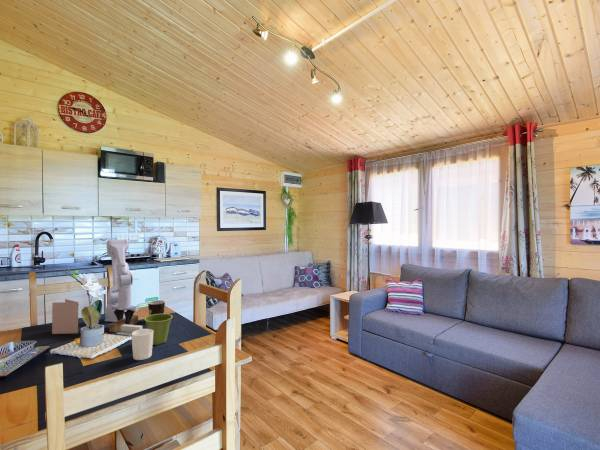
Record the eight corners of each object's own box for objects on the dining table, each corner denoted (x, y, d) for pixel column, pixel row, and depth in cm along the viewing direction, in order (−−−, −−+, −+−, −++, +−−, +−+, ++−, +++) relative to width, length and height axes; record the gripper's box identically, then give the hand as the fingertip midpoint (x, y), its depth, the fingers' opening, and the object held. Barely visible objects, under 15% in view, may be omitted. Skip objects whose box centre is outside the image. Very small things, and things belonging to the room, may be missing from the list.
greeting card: (79, 332, 155) (80, 301, 155) (62, 337, 148) (63, 305, 148) (66, 328, 160) (67, 298, 160) (49, 333, 154) (50, 301, 153)
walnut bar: (109, 332, 157) (109, 324, 157) (132, 322, 172) (132, 315, 172) (115, 333, 156) (115, 324, 156) (138, 322, 172) (138, 315, 172)
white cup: (147, 351, 135) (147, 327, 135) (156, 356, 130) (157, 331, 130) (128, 357, 129) (128, 332, 129) (136, 362, 124) (137, 337, 124)
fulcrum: (115, 334, 153) (115, 327, 153) (129, 328, 162) (129, 322, 162) (134, 336, 151) (134, 329, 151) (146, 330, 160) (146, 323, 160)
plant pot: (145, 349, 137) (146, 323, 137) (142, 340, 147) (142, 315, 147) (174, 343, 143) (175, 318, 143) (169, 335, 153) (169, 312, 153)
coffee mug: (147, 319, 178) (147, 301, 177) (164, 317, 181) (164, 299, 181) (147, 325, 167) (147, 306, 167) (165, 323, 171) (165, 304, 171)
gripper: (106, 298, 161) (105, 325, 162) (131, 300, 159) (131, 327, 159) (116, 295, 168) (116, 321, 169) (141, 297, 166) (140, 323, 166)
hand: (124, 324), depth 164 cm, fingers open, 4 cm apart
